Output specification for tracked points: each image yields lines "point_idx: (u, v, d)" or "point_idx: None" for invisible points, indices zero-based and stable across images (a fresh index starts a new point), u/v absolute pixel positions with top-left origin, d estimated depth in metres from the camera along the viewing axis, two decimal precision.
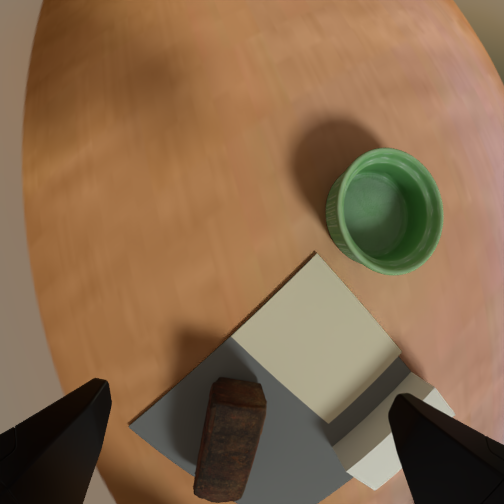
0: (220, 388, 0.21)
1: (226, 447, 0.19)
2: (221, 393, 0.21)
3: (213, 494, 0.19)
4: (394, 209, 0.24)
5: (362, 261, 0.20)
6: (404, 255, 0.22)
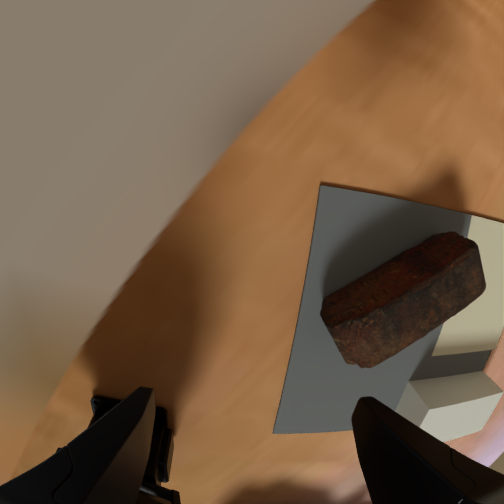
0: None
1: (442, 294, 0.16)
2: None
3: (364, 342, 0.17)
4: None
5: None
6: None
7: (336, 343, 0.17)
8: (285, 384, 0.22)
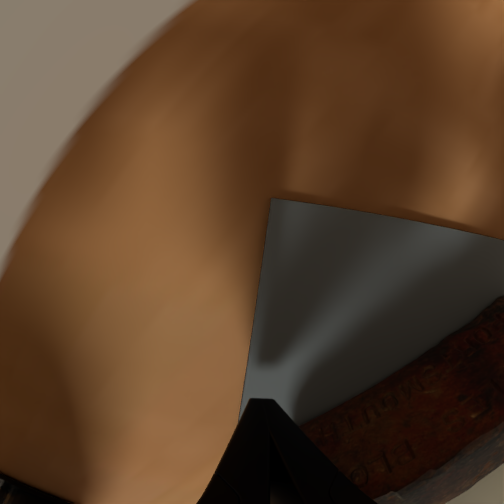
0: None
1: None
2: None
3: None
4: None
5: None
6: None
7: None
8: None
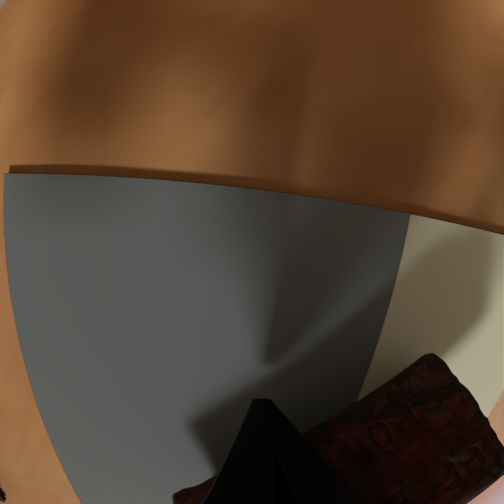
0: None
1: None
2: (489, 429, 0.06)
3: None
4: None
5: None
6: None
7: None
8: (66, 473, 0.11)
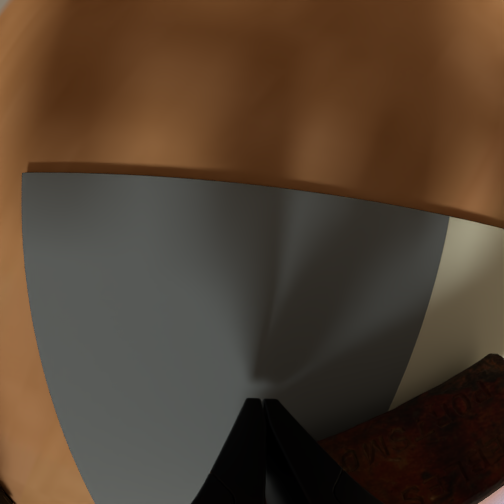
0: None
1: None
2: None
3: None
4: None
5: None
6: None
7: None
8: (87, 486, 0.11)
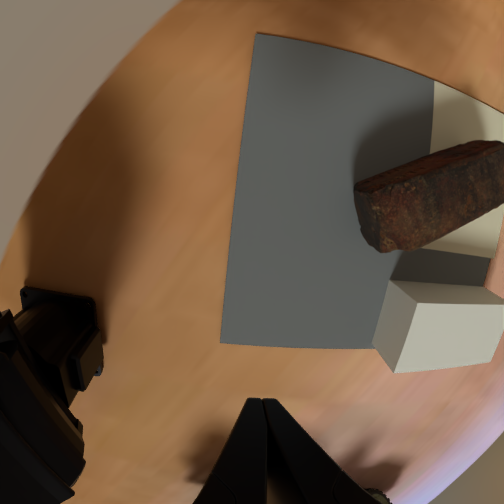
0: None
1: (478, 181, 0.14)
2: None
3: (405, 211, 0.15)
4: None
5: None
6: None
7: (375, 212, 0.15)
8: (228, 263, 0.20)
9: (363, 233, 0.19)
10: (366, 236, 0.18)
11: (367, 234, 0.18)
